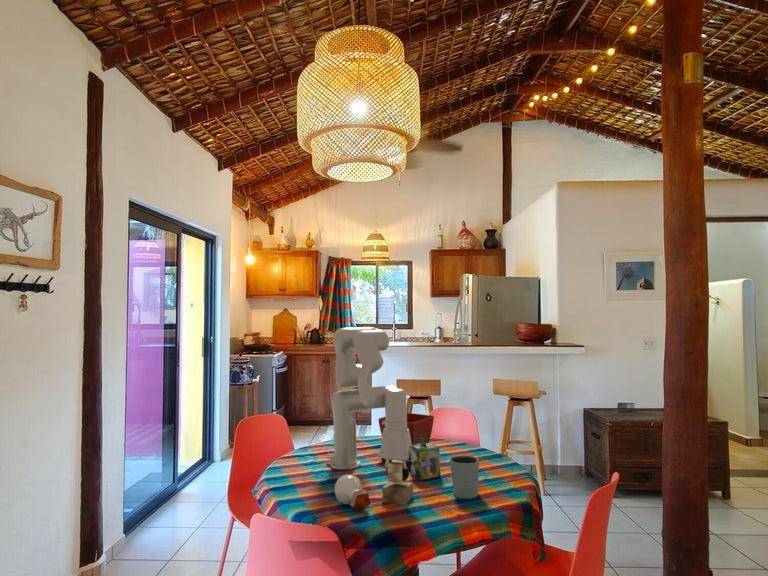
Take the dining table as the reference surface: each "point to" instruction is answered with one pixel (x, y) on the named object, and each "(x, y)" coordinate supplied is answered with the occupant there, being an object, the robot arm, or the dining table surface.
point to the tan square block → (397, 492)
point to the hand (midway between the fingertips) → (397, 478)
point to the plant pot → (416, 427)
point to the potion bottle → (352, 492)
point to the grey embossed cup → (465, 476)
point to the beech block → (395, 471)
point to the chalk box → (426, 461)
